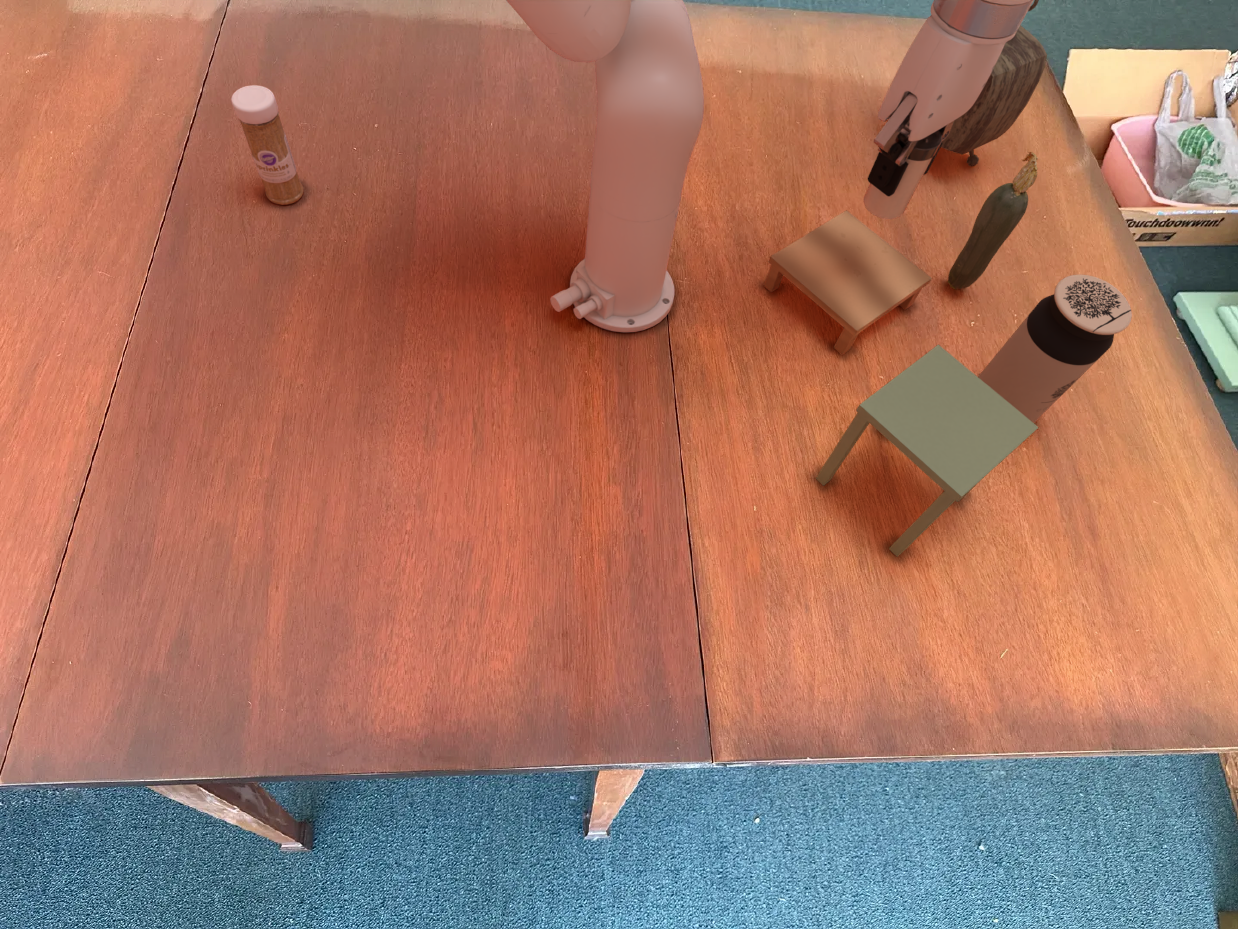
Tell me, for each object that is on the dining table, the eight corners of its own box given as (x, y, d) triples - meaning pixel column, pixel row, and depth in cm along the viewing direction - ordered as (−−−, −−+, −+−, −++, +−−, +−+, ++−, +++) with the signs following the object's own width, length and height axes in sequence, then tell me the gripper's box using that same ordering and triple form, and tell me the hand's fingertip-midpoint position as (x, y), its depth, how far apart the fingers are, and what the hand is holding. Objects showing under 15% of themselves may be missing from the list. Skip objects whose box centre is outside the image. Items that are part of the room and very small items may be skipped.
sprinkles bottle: (270, 209, 96) (233, 112, 84) (263, 184, 98) (226, 86, 86) (308, 201, 97) (277, 105, 85) (300, 177, 99) (269, 80, 87)
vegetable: (967, 306, 98) (1058, 177, 81) (933, 299, 98) (1017, 168, 81) (966, 281, 101) (1055, 150, 83) (933, 273, 101) (1015, 141, 83)
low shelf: (842, 358, 92) (857, 330, 88) (759, 285, 97) (770, 256, 93) (915, 305, 98) (932, 277, 93) (833, 239, 102) (846, 209, 98)
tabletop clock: (987, 169, 112) (1094, -7, 91) (945, 190, 109) (1045, 12, 88) (917, 112, 118) (1002, -68, 96) (874, 130, 115) (953, -52, 93)
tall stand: (897, 560, 80) (961, 496, 67) (812, 478, 83) (859, 404, 71) (966, 497, 84) (1038, 427, 72) (883, 422, 88) (938, 344, 76)
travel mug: (952, 389, 91) (1037, 282, 76) (1004, 371, 93) (1098, 263, 78) (992, 444, 88) (1090, 343, 72) (1046, 424, 90) (1152, 321, 75)
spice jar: (886, 226, 83) (922, 156, 75) (853, 200, 85) (884, 128, 77) (914, 208, 85) (951, 137, 77) (881, 183, 86) (914, 111, 79)
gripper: (1003, -47, 70) (918, 129, 86) (884, 10, 64) (816, 188, 80) (1072, -6, 68) (972, 167, 84) (956, 57, 61) (871, 232, 77)
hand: (897, 176), depth 81 cm, fingers closed on spice jar, 4 cm apart
